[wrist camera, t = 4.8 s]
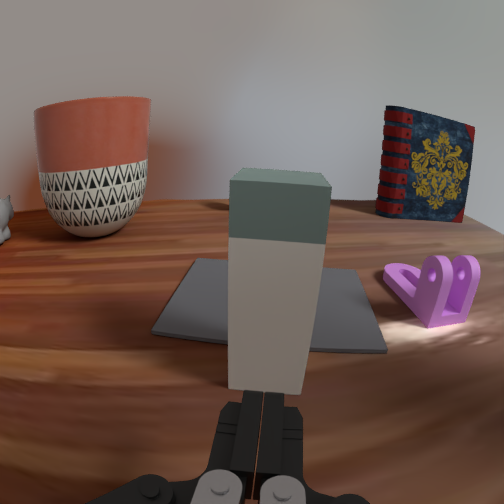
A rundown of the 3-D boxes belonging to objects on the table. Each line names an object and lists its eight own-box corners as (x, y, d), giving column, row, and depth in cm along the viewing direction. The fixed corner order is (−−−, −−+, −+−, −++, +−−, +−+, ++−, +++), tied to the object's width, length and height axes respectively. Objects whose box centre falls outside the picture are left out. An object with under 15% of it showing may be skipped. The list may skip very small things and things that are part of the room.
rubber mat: (354, 272, 39) (355, 269, 39) (386, 353, 24) (387, 349, 24) (197, 260, 41) (197, 257, 41) (151, 333, 26) (151, 330, 26)
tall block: (299, 350, 25) (321, 173, 20) (300, 394, 20) (331, 186, 15) (238, 345, 25) (243, 167, 20) (228, 388, 21) (229, 180, 16)
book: (382, 218, 66) (394, 104, 56) (369, 209, 72) (379, 105, 63) (463, 223, 68) (476, 127, 59) (448, 215, 74) (459, 125, 65)
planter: (98, 263, 38) (87, 94, 30) (24, 242, 44) (13, 115, 36) (174, 222, 56) (174, 100, 48) (98, 212, 61) (94, 109, 53)
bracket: (464, 323, 28) (484, 263, 26) (427, 329, 28) (446, 265, 25) (409, 272, 40) (419, 223, 38) (375, 273, 40) (384, 221, 37)
